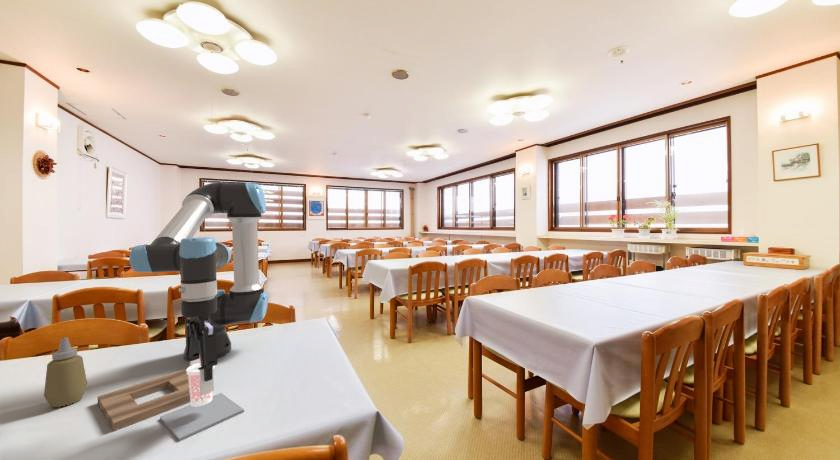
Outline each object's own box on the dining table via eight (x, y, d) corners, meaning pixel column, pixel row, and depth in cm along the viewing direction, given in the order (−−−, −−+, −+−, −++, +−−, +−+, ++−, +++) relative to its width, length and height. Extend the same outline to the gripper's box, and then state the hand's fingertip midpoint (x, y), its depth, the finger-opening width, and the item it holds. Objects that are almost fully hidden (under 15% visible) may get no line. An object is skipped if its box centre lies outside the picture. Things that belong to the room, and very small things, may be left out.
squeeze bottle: (65, 395, 93) (63, 333, 92) (95, 393, 93) (93, 332, 93) (34, 411, 85) (31, 344, 84) (67, 410, 85) (65, 342, 85)
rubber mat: (160, 419, 81) (160, 416, 81) (221, 394, 92) (221, 392, 92) (179, 441, 72) (179, 438, 72) (243, 411, 84) (243, 409, 84)
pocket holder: (97, 403, 88) (97, 396, 88) (184, 375, 104) (183, 369, 104) (114, 431, 76) (113, 422, 76) (208, 394, 92) (208, 387, 92)
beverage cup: (221, 398, 83) (220, 344, 83) (196, 410, 78) (195, 353, 78) (206, 393, 86) (205, 341, 86) (181, 405, 80) (180, 349, 80)
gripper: (169, 296, 84) (171, 383, 85) (196, 306, 73) (199, 407, 73) (201, 291, 90) (203, 373, 91) (232, 300, 79) (234, 393, 79)
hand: (201, 388), depth 82 cm, fingers closed on beverage cup, 6 cm apart
